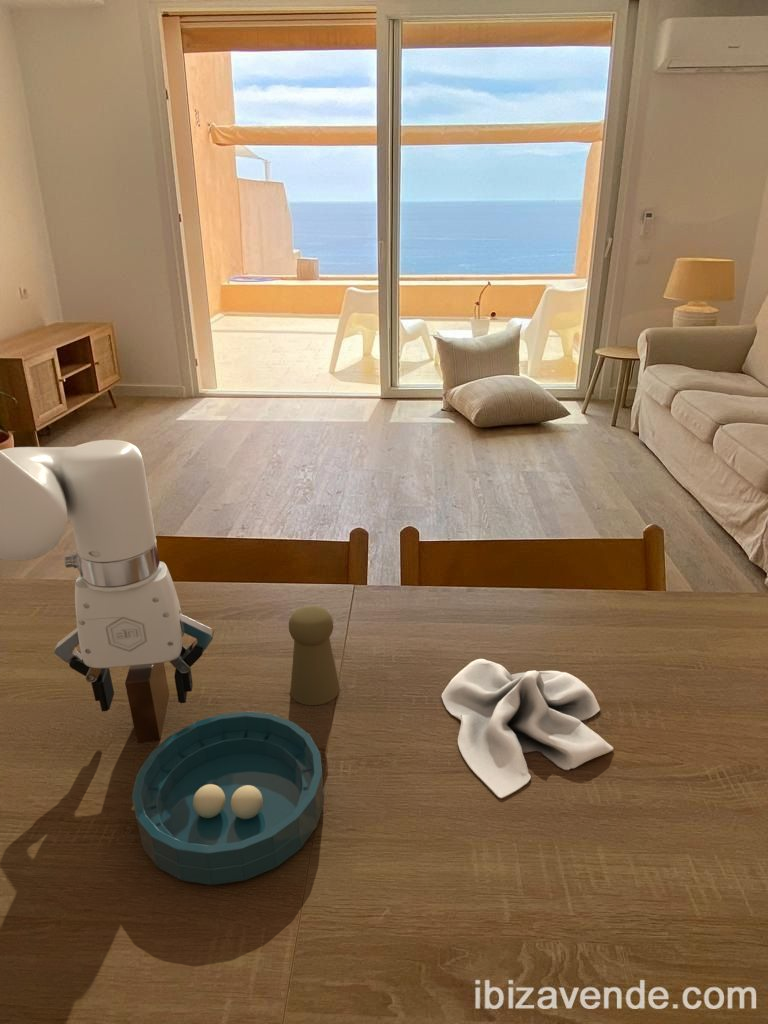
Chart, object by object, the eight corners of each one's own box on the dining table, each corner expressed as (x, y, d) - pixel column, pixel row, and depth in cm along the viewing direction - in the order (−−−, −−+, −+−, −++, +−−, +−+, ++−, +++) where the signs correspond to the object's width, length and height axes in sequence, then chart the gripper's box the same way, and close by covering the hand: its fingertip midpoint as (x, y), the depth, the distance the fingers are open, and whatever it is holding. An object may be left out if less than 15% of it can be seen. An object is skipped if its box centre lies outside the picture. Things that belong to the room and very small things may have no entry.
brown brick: (137, 742, 77) (124, 682, 73) (148, 696, 84) (137, 639, 81) (160, 740, 77) (149, 680, 74) (169, 694, 84) (159, 637, 81)
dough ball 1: (219, 786, 69) (191, 782, 67) (233, 786, 67) (204, 782, 65) (213, 819, 68) (184, 815, 66) (227, 820, 66) (198, 816, 64)
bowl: (124, 902, 59) (115, 865, 57) (155, 754, 75) (148, 721, 73) (330, 873, 62) (328, 837, 60) (317, 735, 77) (315, 703, 76)
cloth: (441, 661, 90) (442, 620, 87) (588, 666, 88) (593, 626, 86) (440, 795, 69) (442, 748, 67) (630, 806, 68) (639, 758, 65)
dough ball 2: (273, 808, 66) (253, 800, 64) (249, 829, 66) (229, 821, 64) (263, 783, 68) (244, 774, 66) (241, 803, 68) (220, 795, 66)
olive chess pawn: (281, 698, 83) (274, 621, 79) (303, 669, 88) (298, 595, 84) (327, 710, 81) (323, 631, 77) (347, 679, 86) (344, 603, 82)
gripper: (18, 586, 66) (56, 730, 74) (204, 572, 69) (223, 713, 76) (41, 551, 73) (73, 686, 80) (210, 539, 76) (226, 671, 83)
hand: (146, 698), depth 78 cm, fingers open, 7 cm apart
